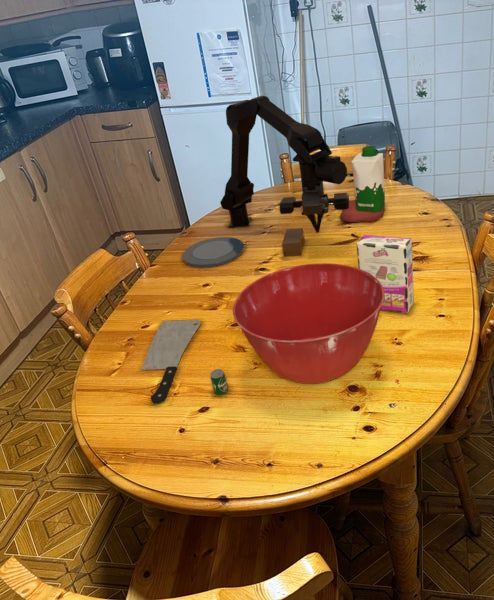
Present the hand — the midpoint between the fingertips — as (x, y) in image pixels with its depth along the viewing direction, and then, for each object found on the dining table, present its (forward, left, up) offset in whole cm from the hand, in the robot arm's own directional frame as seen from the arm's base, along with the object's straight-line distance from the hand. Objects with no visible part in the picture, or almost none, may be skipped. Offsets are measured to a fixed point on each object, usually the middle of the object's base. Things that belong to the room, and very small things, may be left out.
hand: (317, 231), depth 155 cm
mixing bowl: (+54, +3, -5) cm, 54 cm away
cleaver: (+50, -30, -5) cm, 59 cm away
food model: (-22, +12, -3) cm, 26 cm away
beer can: (+62, -15, -5) cm, 64 cm away
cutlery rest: (0, -7, -4) cm, 8 cm away
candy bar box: (+34, +18, -5) cm, 38 cm away
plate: (0, -31, -4) cm, 32 cm away
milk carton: (-21, +15, -5) cm, 26 cm away
